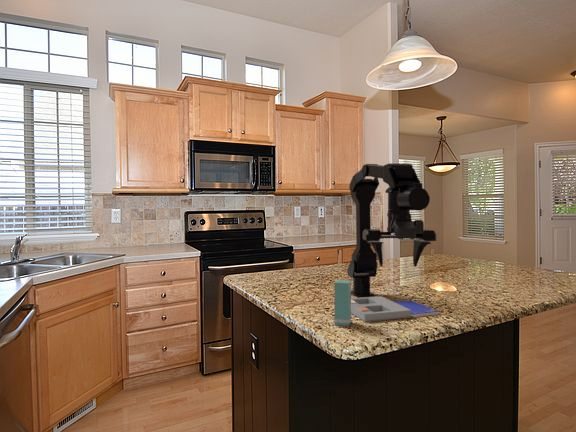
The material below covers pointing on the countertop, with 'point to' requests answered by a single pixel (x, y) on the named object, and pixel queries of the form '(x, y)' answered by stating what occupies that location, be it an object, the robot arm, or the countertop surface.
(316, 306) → the countertop surface
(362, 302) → the socket board
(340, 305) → the plug
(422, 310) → the hard drive
